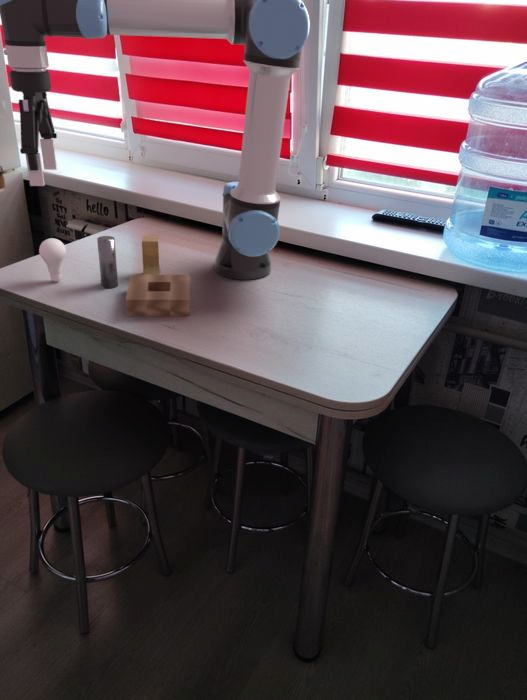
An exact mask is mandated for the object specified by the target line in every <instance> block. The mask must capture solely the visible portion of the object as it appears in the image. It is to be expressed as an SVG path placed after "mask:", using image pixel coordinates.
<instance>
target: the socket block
mask: <svg viewBox="0 0 527 700" xmlns="http://www.w3.org/2000/svg"><path fill="white" fill-rule="evenodd" d="M126 291H127V293H126V297H125V308H126V316H128V317H132V316H135V317H137V316H138V317H141V316H142V317H144V316H145V317H147V316H148V317H150V316H151V317H152V316H159V317H161V316H162V317H163V316H164V317H167V316H172V317H174V316H175V317H178V316H180V317H181V316H182V317H184V316H185V317H186V316H189V317H190V315H191V314H190V313H191V311H190V310H191V308H190V307H191V305H190V303H191V302H190V301H191V300H190V299H191V298H190V297H191V296H190V295H191V293H190V274H160V275H153V274H139V273H138V274H137V273H136V274H135V273H134V274H130V277H129V282H128V287H127V290H126Z"/></svg>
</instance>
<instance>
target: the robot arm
mask: <svg viewBox="0 0 527 700" xmlns="http://www.w3.org/2000/svg"><path fill="white" fill-rule="evenodd" d="M0 21H1V27H2V33H3V37H4V45H5V49H4V50H3V55H5V56H7V57H6V58H7V64H8V67H9V68H11V69H9V70H10V71H9V78H10V85H11V90H13V91H14V92H17V93H22V98H23V99H18V106H19V116H20V117H19V118H20V119H19V120H20V124H19V125H20V139H21V140H20V145H21V147H20V148H19V150H20V151H19V153H20V154H24V155H25V160H26V167H27V173H28V181H29V186H30V187H44V186H45V179H44V171H43V169H44V170H49V171H50V170H57V169H58V167H57V166H58V164H57V159H56V158H57V157H56V150H55V143H54V139H57V138H58V136H57V135H58V134H57V133H56V130H55V127H54V123H53V119H52V116H51V111H50V106H49V103H48V97H47V92H50V91H51V90H52V83H51V76H50V75H51V74H50V72H49V70H47V69H48V68H49V66H50V64H49V58H48V49H47V45H46V37H51V38H52V37H60V38H62V37H63V38H77V39H78V38H80V39H86V40H90V39H91V40H92V39H104V38H105V37H106V36H108V35H110V36H137V37H138V36H139V37H163V38H166V37H167V38H193V39H194V38H195V39H218V40H219V39H221V40H227V42H229V43H230V44H231V45H239V46H240V45H242V46H244V54H243V62H244V64H245V66H246V67H247V68H248V70H249V77H248V87H247V93H246V94H247V95H246V105H245V115H244V125H243V126H244V127H243V134H242V141H241V142H242V144H241V152H240V153H241V154H240V162H239V171H238V172H239V173H238V181H232V182H231V181H230V182H227V183H226V184H224V186H223V192H222V197H223V198H222V235H221V236H222V239H221V243H220V246H219V249H218V251H217V254H216V256H215V261H214V263H215V264H214V269H215V270H216V272H217V273H218V274H219V275H221V276H223V277H227V278H231V279H235V280H256V279H260V278H264V277H266V276H268V275H270V273H271V272H272V259H271V255H270V252H271V250H273V249H274V247H275V246H276V245H277V243H278V241H279V238H280V233H281V232H280V231H281V230H280V224H279V222H278V219H279V214H280V203H281V196H280V195H279V193H278V192H277V191H276V187H277V186H276V185H277V178H278V172H279V171H278V170H279V164H280V157H281V150H282V144H283V143H282V142H283V141H282V140H283V135H284V128H285V120H286V113H287V106H288V99H289V92H290V91H289V90H290V83H291V78H292V76H293V75H294V74H295V73H297V71H298V70H300V64H301V63H300V62H301V59H302V51H303V47H305V44H306V41H307V40H308V37H309V34H310V27H311V25H310V24H311V23H310V16H309V13H308V10H307V8H306V6H305V4H304V2H303V1H302V0H0ZM39 136H40V137H41V138H40V139H39ZM39 143H40V149H41V153H40V152H39ZM41 156H42V157H41Z"/></svg>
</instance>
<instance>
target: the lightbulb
mask: <svg viewBox="0 0 527 700" xmlns="http://www.w3.org/2000/svg"><path fill="white" fill-rule="evenodd" d="M38 253H39V256H40V258H41V259H42V261H43V262H44V263H45V265H46V267H47V270H48V273H49V276H50V280H51V281H53V282H54V283H58V282H60V281H61V280H62V271H63V262H64V260H65V258H66V255H67V248H66V246H65V244H64V243H63V242H62V241H61V240H59V239H57V238H53V237H51V238H47V239H45V240H43V241H42V242H41V243H40V245H39V249H38Z"/></svg>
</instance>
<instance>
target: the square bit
mask: <svg viewBox="0 0 527 700" xmlns="http://www.w3.org/2000/svg"><path fill="white" fill-rule="evenodd" d="M141 254H142V270H143V274H153V275H161V262H160V260H161V259H160V258H161V257H160V256H161V255H160V236H159V235H142V238H141Z"/></svg>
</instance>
